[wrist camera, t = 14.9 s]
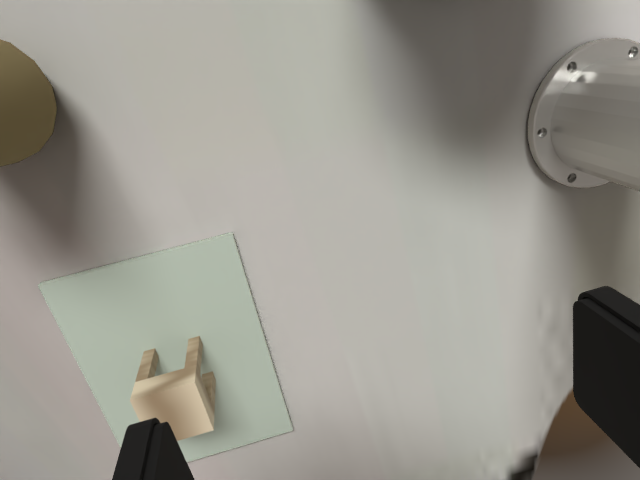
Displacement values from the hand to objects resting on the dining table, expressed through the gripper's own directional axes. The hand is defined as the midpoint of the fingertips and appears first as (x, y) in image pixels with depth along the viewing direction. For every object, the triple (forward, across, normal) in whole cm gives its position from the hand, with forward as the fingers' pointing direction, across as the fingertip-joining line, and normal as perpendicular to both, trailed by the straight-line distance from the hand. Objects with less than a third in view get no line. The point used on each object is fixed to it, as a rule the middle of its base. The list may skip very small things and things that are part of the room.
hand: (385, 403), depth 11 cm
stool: (+30, +13, +17) cm, 36 cm away
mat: (+30, +13, +17) cm, 37 cm away
